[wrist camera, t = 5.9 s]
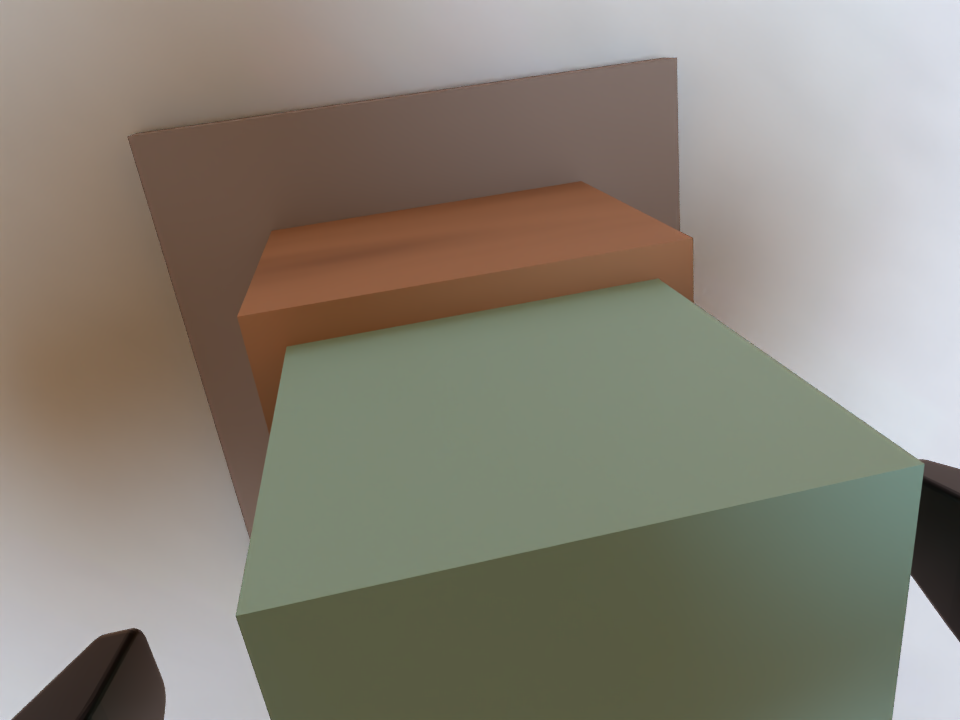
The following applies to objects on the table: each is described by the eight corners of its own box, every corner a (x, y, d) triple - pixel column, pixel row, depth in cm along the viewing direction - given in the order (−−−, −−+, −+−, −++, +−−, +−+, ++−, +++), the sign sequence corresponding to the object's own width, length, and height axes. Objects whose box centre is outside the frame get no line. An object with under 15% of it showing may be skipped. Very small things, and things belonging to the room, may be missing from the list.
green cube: (668, 572, 12) (870, 889, 7) (361, 642, 11) (375, 1030, 7) (658, 278, 10) (923, 463, 5) (286, 346, 9) (235, 616, 5)
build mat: (674, 489, 18) (684, 502, 18) (268, 575, 17) (265, 592, 17) (664, 57, 14) (676, 57, 14) (136, 133, 13) (128, 136, 13)
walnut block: (600, 446, 17) (696, 591, 12) (336, 499, 16) (334, 674, 12) (581, 180, 14) (692, 238, 10) (271, 230, 14) (237, 316, 9)
